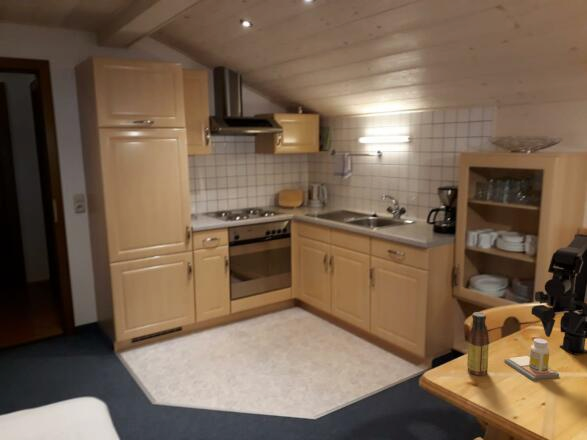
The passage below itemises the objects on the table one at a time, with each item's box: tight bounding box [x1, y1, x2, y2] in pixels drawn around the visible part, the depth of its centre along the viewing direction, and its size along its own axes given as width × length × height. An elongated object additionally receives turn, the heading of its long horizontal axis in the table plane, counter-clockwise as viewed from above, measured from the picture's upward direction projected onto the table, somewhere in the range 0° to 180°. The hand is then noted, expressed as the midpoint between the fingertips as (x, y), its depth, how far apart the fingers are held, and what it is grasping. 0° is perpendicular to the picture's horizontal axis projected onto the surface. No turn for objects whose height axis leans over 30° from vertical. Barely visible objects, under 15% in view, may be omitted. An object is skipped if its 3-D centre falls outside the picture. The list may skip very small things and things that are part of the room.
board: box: [503, 355, 560, 382], centre depth 154 cm, size 10×13×1 cm
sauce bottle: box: [466, 311, 490, 377], centre depth 151 cm, size 7×6×20 cm
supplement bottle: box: [529, 338, 550, 373], centre depth 150 cm, size 5×5×10 cm
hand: (559, 334), depth 152 cm, fingers open, 9 cm apart
